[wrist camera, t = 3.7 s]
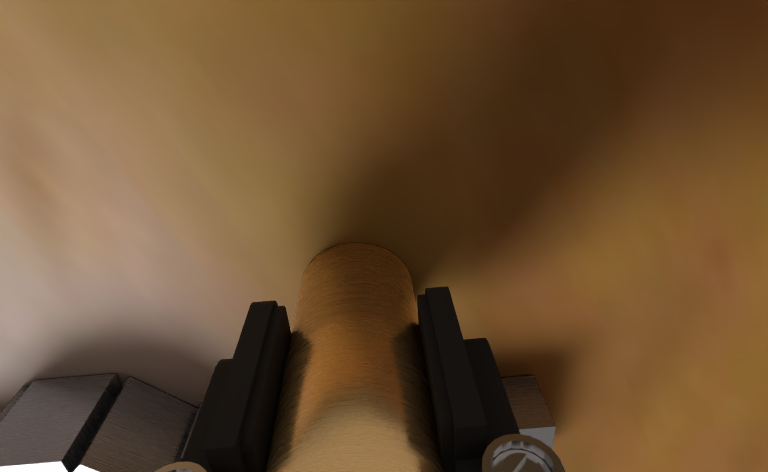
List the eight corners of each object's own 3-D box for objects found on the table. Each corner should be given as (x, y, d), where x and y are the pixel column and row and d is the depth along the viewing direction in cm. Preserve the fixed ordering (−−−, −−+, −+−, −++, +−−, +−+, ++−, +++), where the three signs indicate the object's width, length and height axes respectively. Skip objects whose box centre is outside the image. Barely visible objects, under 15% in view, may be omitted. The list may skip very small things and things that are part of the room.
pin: (410, 238, 13) (495, 675, 5) (414, 329, 14) (482, 771, 6) (292, 247, 13) (179, 703, 5) (309, 338, 14) (246, 792, 6)
